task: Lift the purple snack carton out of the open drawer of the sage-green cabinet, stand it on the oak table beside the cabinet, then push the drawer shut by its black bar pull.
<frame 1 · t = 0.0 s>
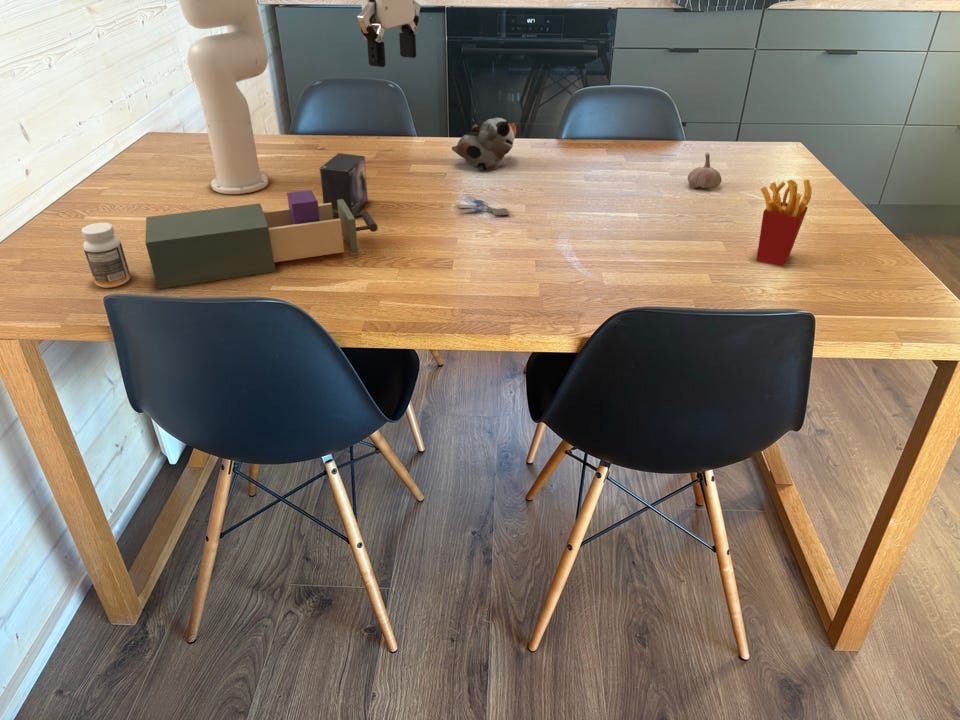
hand: (393, 61, 126), 31 cm above the table, tool pointing down, fingers open, 9 cm apart
french fries: (769, 257, 132), on the table
drawer: (313, 230, 129), point 4 cm above the table, slide at 14.0 cm, touching snack carton
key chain: (477, 210, 150), on the table
pill bottle: (114, 282, 121), on the table
lucky cat figurine: (484, 164, 176), on the table
snack carton: (308, 243, 130), point 2 cm above the table, touching drawer
garlic bulb: (702, 187, 163), on the table
small box: (347, 210, 150), on the table
cabinet: (216, 266, 126), on the table
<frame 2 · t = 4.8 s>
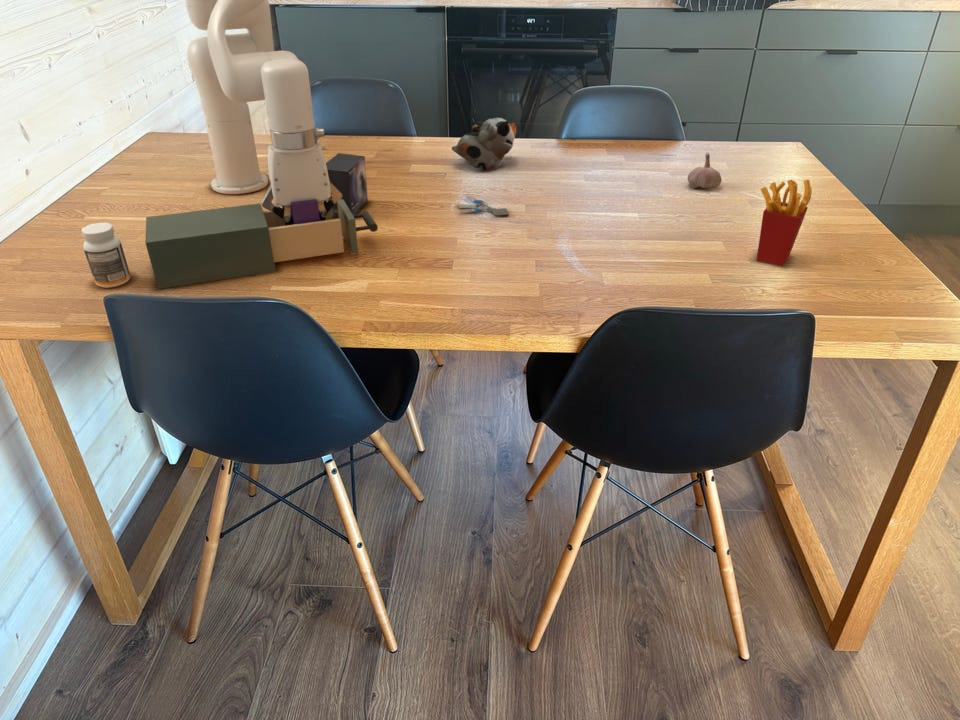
hand: (307, 236, 130), 3 cm above the table, tool pointing down, fingers closed on snack carton, 4 cm apart
snack carton: (308, 243, 130), point 2 cm above the table, touching drawer, gripper
everything else where it was.
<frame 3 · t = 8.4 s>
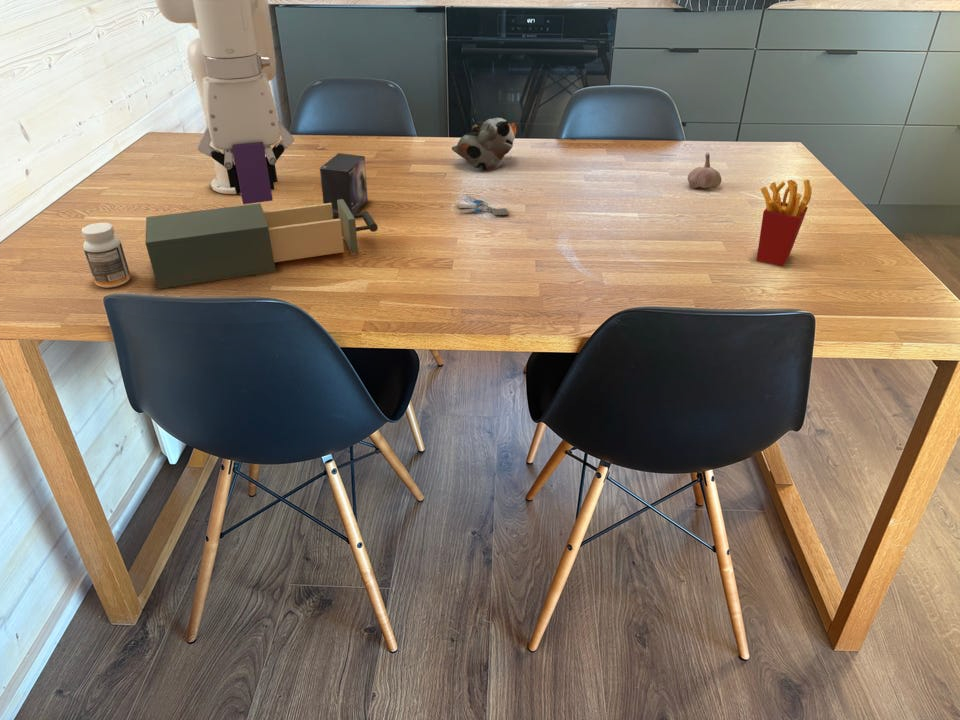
hand: (254, 188, 111), 17 cm above the table, tool pointing down, fingers closed on snack carton, 4 cm apart
drawer: (313, 230, 129), point 4 cm above the table, slide at 14.0 cm
snack carton: (256, 196, 112), point 16 cm above the table, touching gripper
everything else where it was.
when the fingers open (1 cm above the table, at t = 12.2 s): snack carton stays where it is, on the table.
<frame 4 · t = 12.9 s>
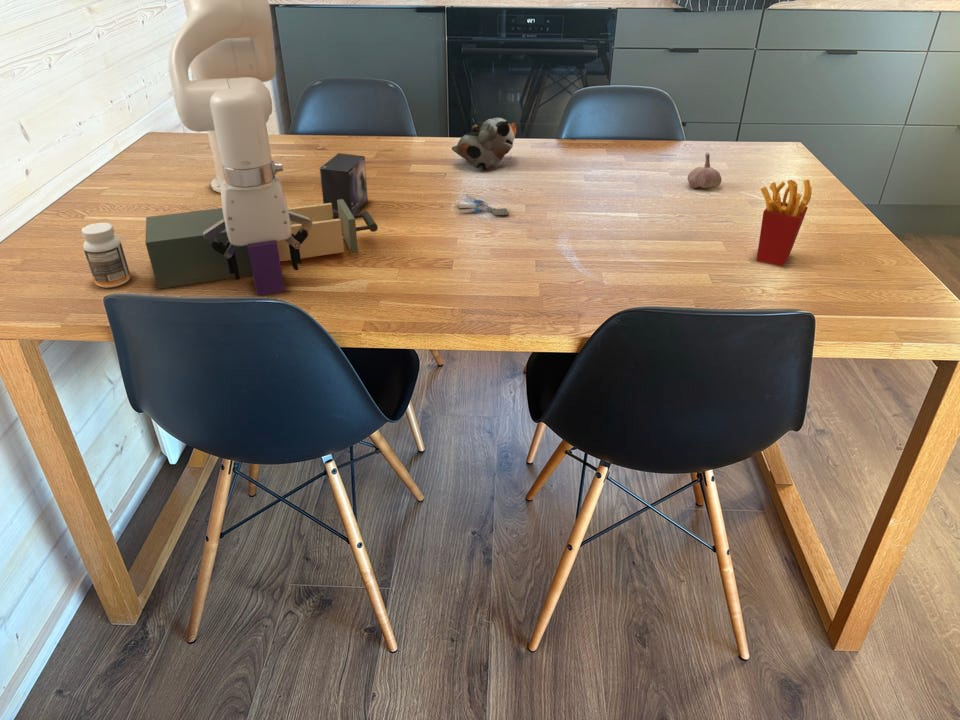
hand: (266, 271, 119), 3 cm above the table, tool pointing down, fingers open, 9 cm apart
snack carton: (269, 286, 120), on the table
everything else where it was.
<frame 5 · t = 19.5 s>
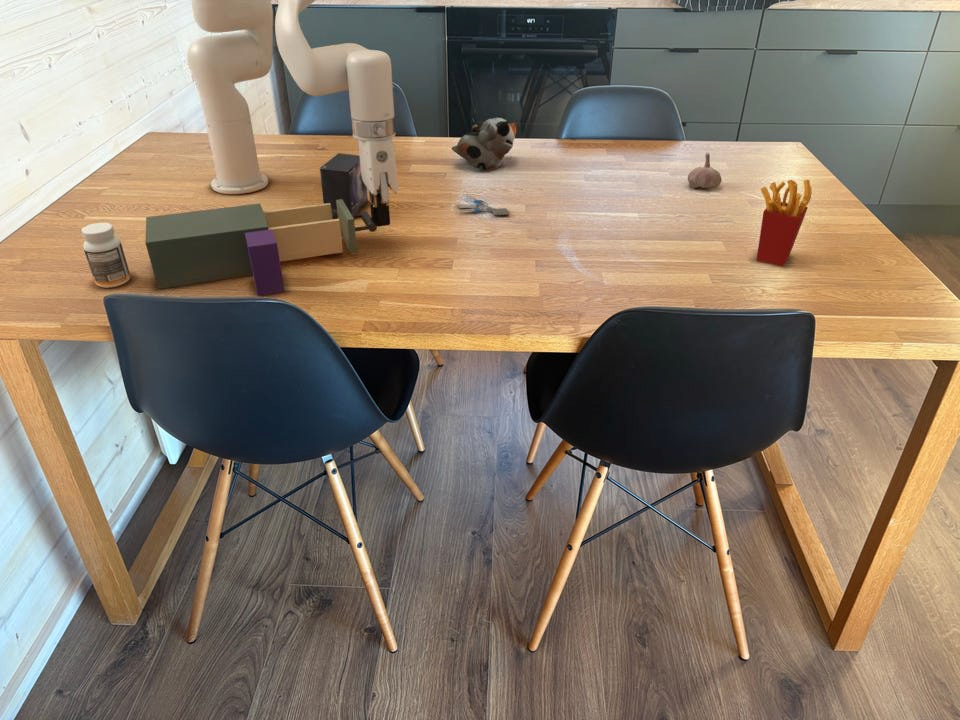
hand: (381, 224, 134), 4 cm above the table, tool pointing down, fingers closed
drawer: (312, 230, 129), point 4 cm above the table, slide at 13.8 cm, touching gripper
everything else where it was.
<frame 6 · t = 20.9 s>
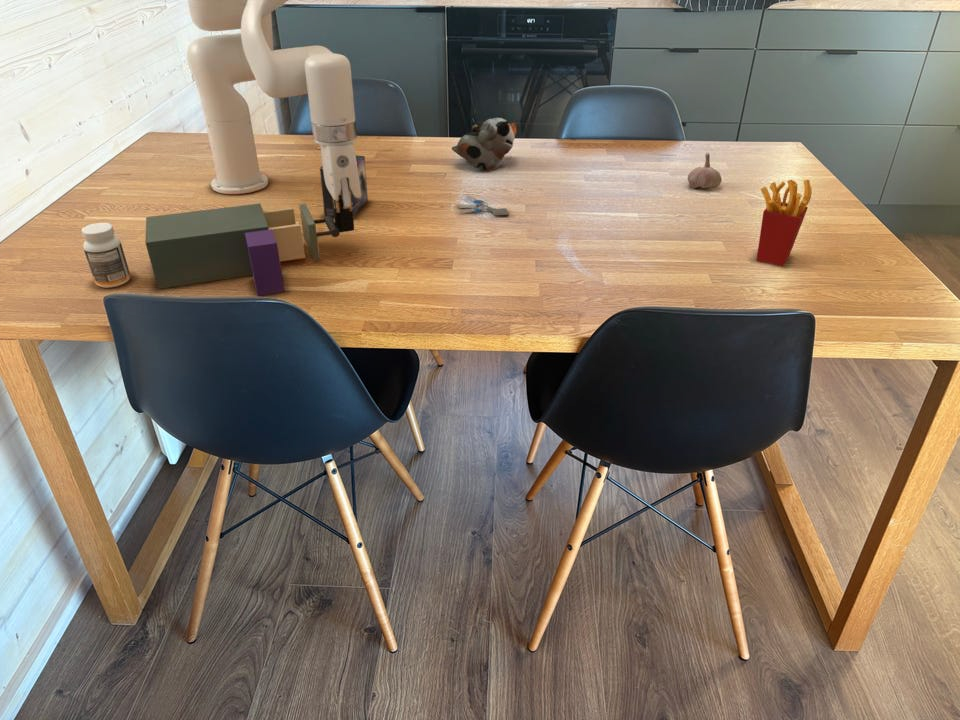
hand: (345, 229, 132), 4 cm above the table, tool pointing down, fingers closed
drawer: (273, 236, 127), point 4 cm above the table, slide at 6.9 cm, touching gripper
everything else where it was.
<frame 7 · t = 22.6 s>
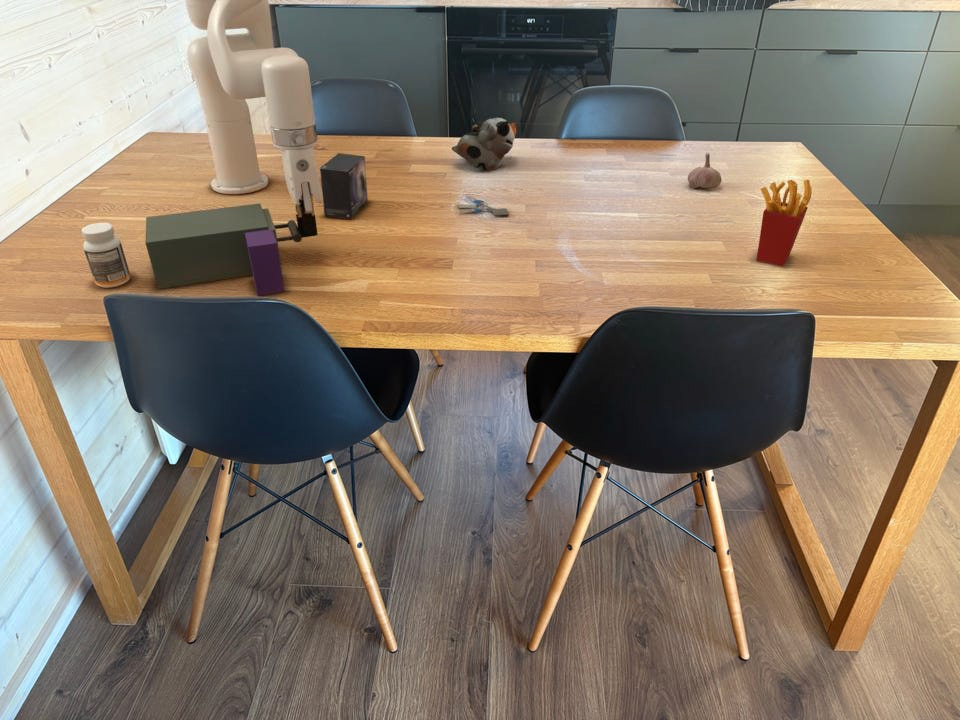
hand: (308, 234, 130), 4 cm above the table, tool pointing down, fingers closed
drawer: (234, 241, 125), point 4 cm above the table, slide at 0.0 cm, touching cabinet, gripper
everything else where it was.
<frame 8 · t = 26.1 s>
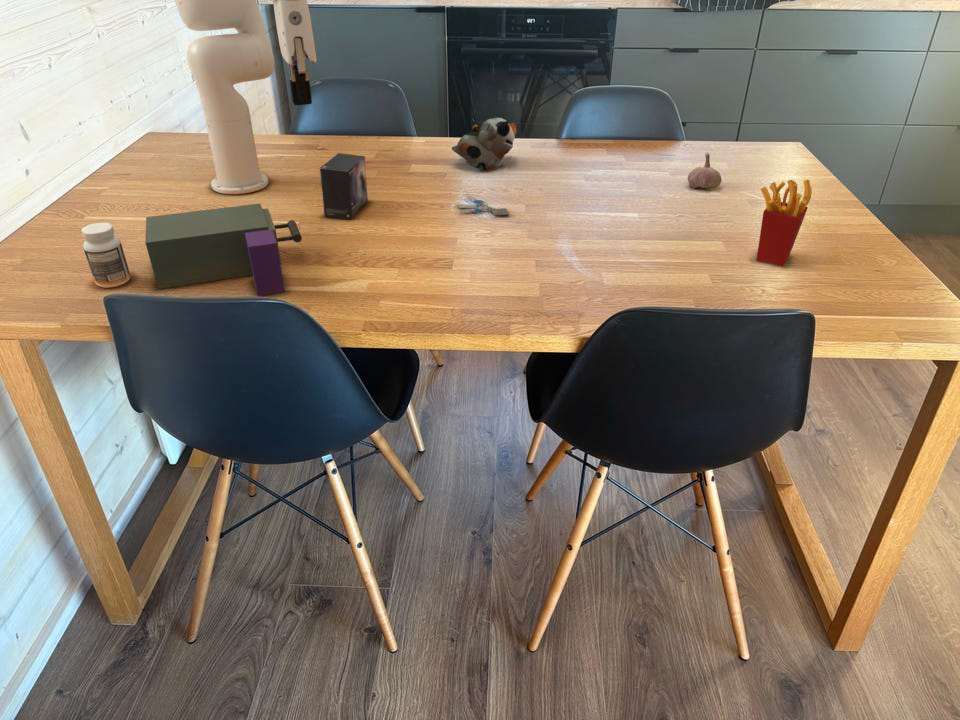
hand: (302, 103, 125), 25 cm above the table, tool pointing down, fingers closed
drawer: (234, 241, 125), point 4 cm above the table, slide at 0.0 cm, touching cabinet
everything else where it was.
at the end: snack carton inside the target area (0.1 cm from its centre), on the table; snack carton tilted 0°; drawer slide at 0.0 cm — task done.
